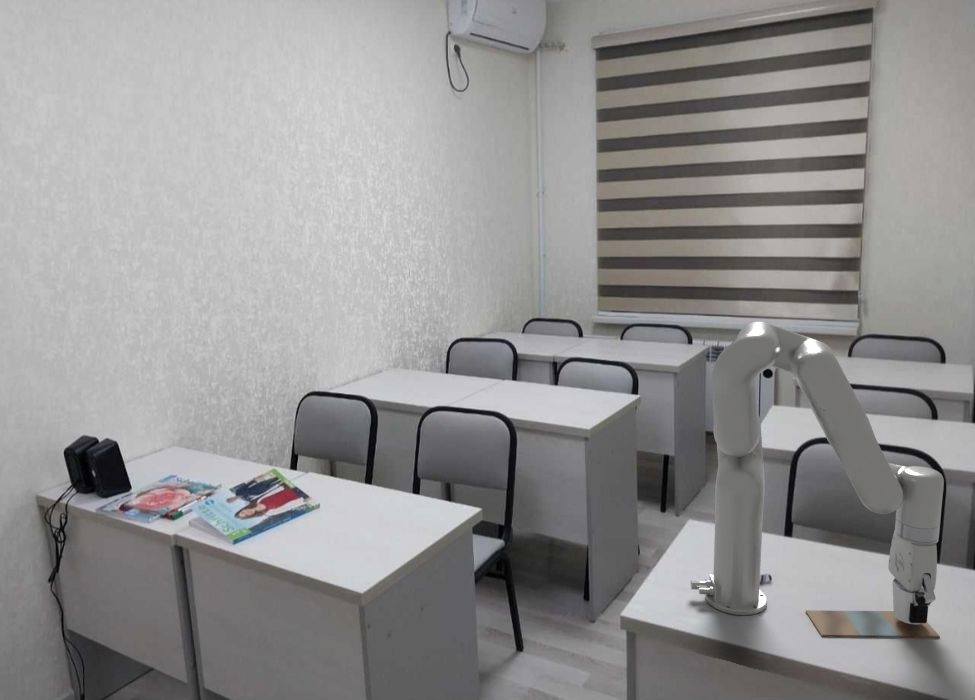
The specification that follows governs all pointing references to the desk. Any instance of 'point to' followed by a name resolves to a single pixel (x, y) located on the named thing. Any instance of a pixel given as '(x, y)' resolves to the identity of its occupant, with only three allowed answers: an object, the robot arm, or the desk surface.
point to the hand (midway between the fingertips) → (909, 612)
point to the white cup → (903, 601)
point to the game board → (867, 625)
